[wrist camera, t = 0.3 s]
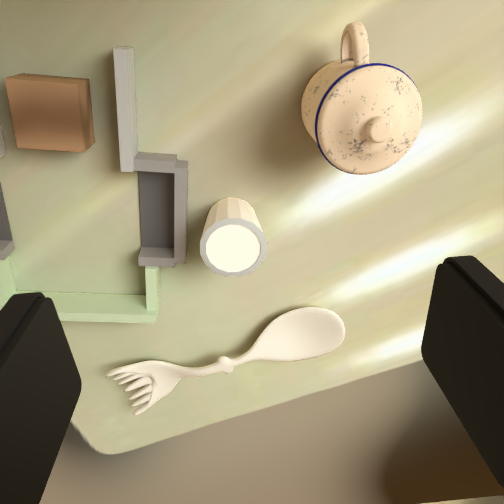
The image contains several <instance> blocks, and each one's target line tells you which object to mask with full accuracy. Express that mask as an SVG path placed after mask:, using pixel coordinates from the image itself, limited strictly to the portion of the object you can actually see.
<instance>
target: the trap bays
mask: <svg viewBox="0 0 504 504" xmlns="http://www.w3.org/2000/svg"><path fill="white" fill-rule="evenodd" d="M134 171H138V172H139V196H140V220H141V244H142V247H141V250H140V253H139V256H138V263H139V266H151V267H175V263H185V260H186V252H187V198H188V161H179V160H177V155H173V154H159V153H145V152H138V153H137V154H136V156H135V158H134ZM13 250H14V245H13V240H12V235H11V231H10V226H9V221H8V217H7V212H6V207H5V203H4V198H3V193H2V188H1V184H0V260H5V259H6V258H7V257H8V256H9V255H10V254H11V253H12V251H13Z"/></svg>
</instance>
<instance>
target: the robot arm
mask: <svg viewBox="0 0 504 504" xmlns="http://www.w3.org/2000/svg"><path fill="white" fill-rule="evenodd" d="M421 352H422V357H423V360H424V362H425V363H426V365H427V367H428V368H429V370H430V372H431V373H432V375H433V377H434V378H435V380H436V382H437V383H438V385H439V387H440V388H441V390H442V391H443V393H444V395H445V396H446V398H447V400H448V401H449V403H450V405H451V406H452V408H453V409H454V411H455V413H456V414H457V416H458V418H459V419H460V421H461V423H462V424H463V426H464V428H465V429H466V431H467V432H468V434H469V436H470V437H471V439H472V441H473V442H474V444H475V446H476V447H477V449H478V451H479V452H480V454H481V455H482V457H483V459H484V460H485V462H486V464H487V465H488V467H489V468H490V470H491V472H492V473H493V475H494V477H495V478H496V480H497V481H498V483H499V484H500V485H501V486H502V487H504V283H503V282H502V281H500V280H499V279H498V278H497V277H496V276H495V275H494V274H493V273H492V272H491V271H489V270H488V269H487V268H486V267H485V266H484V265H483V264H482V263H481V262H480V261H479V260H477V259H476V258H475V257H473V256H458V257H448V258H446V259H445V260H444V262H443V264H439V265H438V266H437V269H436V274H435V279H434V284H433V289H432V294H431V300H430V305H429V310H428V315H427V320H426V325H425V331H424V336H423V341H422V346H421ZM80 392H81V378H80V375H79V372H78V369H77V367H76V364H75V361H74V358H73V355H72V353H71V350H70V347H69V344H68V342H67V339H66V336H65V333H64V330H63V328H62V325H61V322H60V319H59V316H58V314H57V311H56V308H55V305H54V303H53V301H52V299H51V298H49V297H45V296H44V294H43V293H41V292H32V293H20V294H14V295H12V296H11V297H10V299H9V300H8V301H7V303H6V304H5V305H4V306H3V308H2V309H1V310H0V504H39V502H40V500H41V497H42V495H43V492H44V489H45V487H46V484H47V481H48V478H49V476H50V473H51V470H52V468H53V465H54V463H55V460H56V457H57V455H58V451H59V449H60V446H61V443H62V441H63V438H64V436H65V433H66V430H67V428H68V425H69V422H70V420H71V417H72V414H73V412H74V409H75V406H76V404H77V401H78V398H79V396H80ZM424 504H504V496H493V497H483V498H473V499H463V500H453V501H443V502H434V503H424Z"/></svg>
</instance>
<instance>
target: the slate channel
mask: <svg viewBox="0 0 504 504" xmlns="http://www.w3.org/2000/svg"><path fill="white" fill-rule="evenodd" d="M113 55H114V70H115V86H116V102H117V118H118V134H119V150H120V166H121V171H122V172H134V158H135V156H136V154H137V153H138V141H137V117H136V93H135V68H134V48H133V47H123V46H119V47H116V48H113ZM4 155H6V149H5V144H4V139H3V134H2V129H1V124H0V158H1V157H3V156H4ZM145 278H146V295H126V294H98V293H69V292H41V291H16V287H15V282H14V278H13V273H12V269H11V264H10V260H9V256H8V257H7V258H6V259H5V260H0V310H1V309H2V308H3V306H4V305H5V304H6V303H7V301H8V300H9V299H10V297H11V296H12V295H14V294H20V293H32V292H41V293H43V294H44V296H45V297H49V298H51V299H52V301H53V303H54V305H55V308H56V311H57V314H58V316H59V319H60V321H86V322H122V323H156V321H157V316H158V312H159V307H160V267H151V266H146V267H145Z"/></svg>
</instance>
